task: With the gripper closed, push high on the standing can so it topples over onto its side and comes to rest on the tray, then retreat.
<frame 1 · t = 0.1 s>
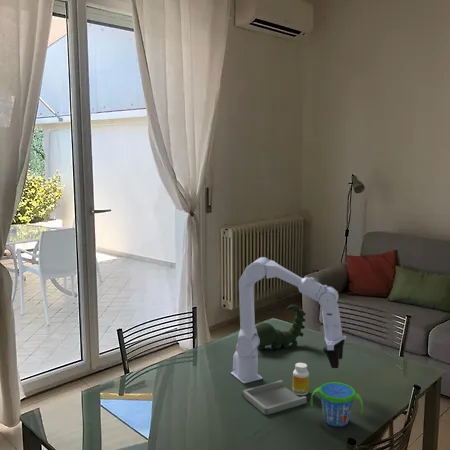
hand: (337, 363, 170), 11 cm above the table, tool pointing down, fingers open, 7 cm apart
supplement bottle: (300, 392, 172), on the table
snack cup: (335, 421, 154), on the table
tray: (273, 399, 166), on the table
toy figurine: (275, 348, 210), on the table
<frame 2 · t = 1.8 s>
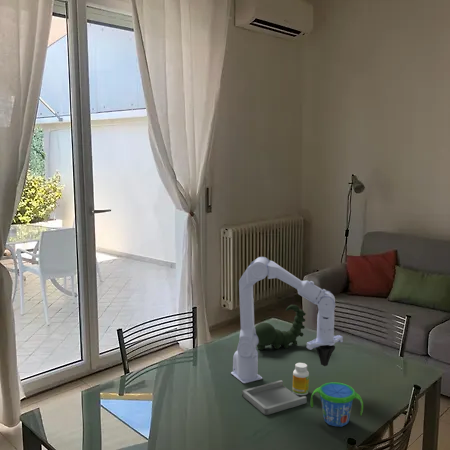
hand: (324, 364, 176), 8 cm above the table, tool pointing down, fingers closed
nothing on the table moved.
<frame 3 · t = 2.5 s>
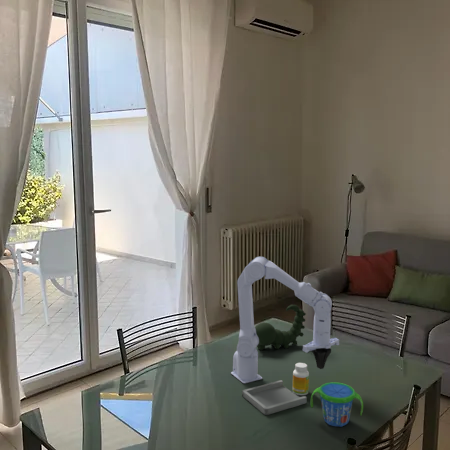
hand: (320, 367, 175), 7 cm above the table, tool pointing down, fingers closed
nothing on the table moved.
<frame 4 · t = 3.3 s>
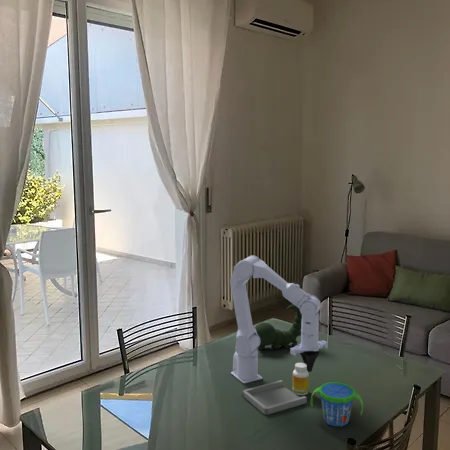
hand: (308, 370, 172), 7 cm above the table, tool pointing down, fingers closed, pressing on supplement bottle
supplement bottle: (300, 392, 172), on the table, touching gripper
everything else where it was.
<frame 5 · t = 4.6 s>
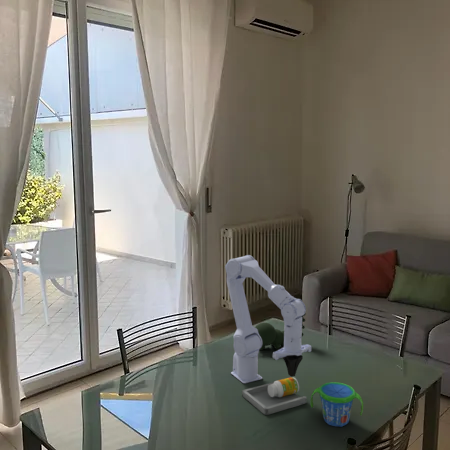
hand: (291, 375, 169), 7 cm above the table, tool pointing down, fingers closed
supplement bottle: (295, 384, 170), point 3 cm above the table, touching tray
everything else where it was.
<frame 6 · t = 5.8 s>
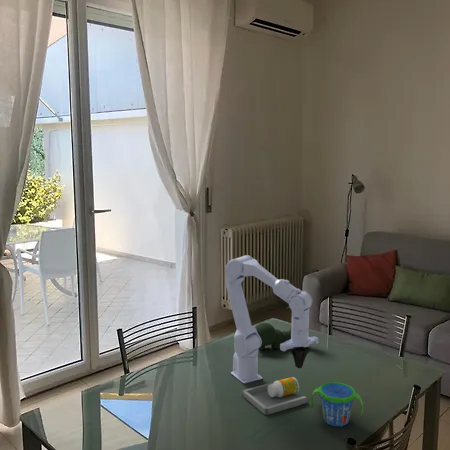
hand: (298, 367, 170), 9 cm above the table, tool pointing down, fingers closed
nothing on the table moved.
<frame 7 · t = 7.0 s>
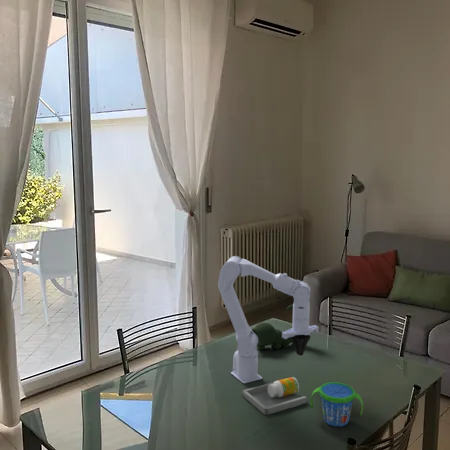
hand: (299, 354, 177), 10 cm above the table, tool pointing down, fingers closed
nothing on the table moved.
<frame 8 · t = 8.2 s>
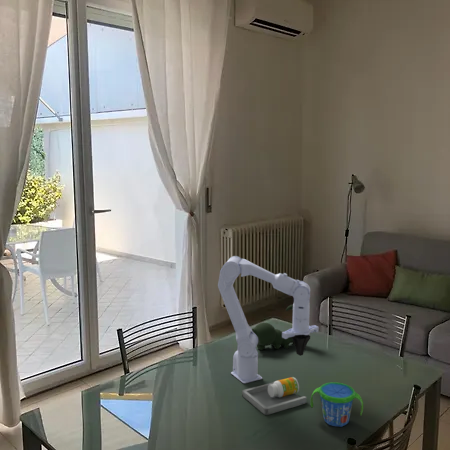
hand: (299, 354, 177), 10 cm above the table, tool pointing down, fingers closed
nothing on the table moved.
at the end: supplement bottle tilted 90°; supplement bottle inside the target area (6.8 cm from its centre), point 3.1 cm above the table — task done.
